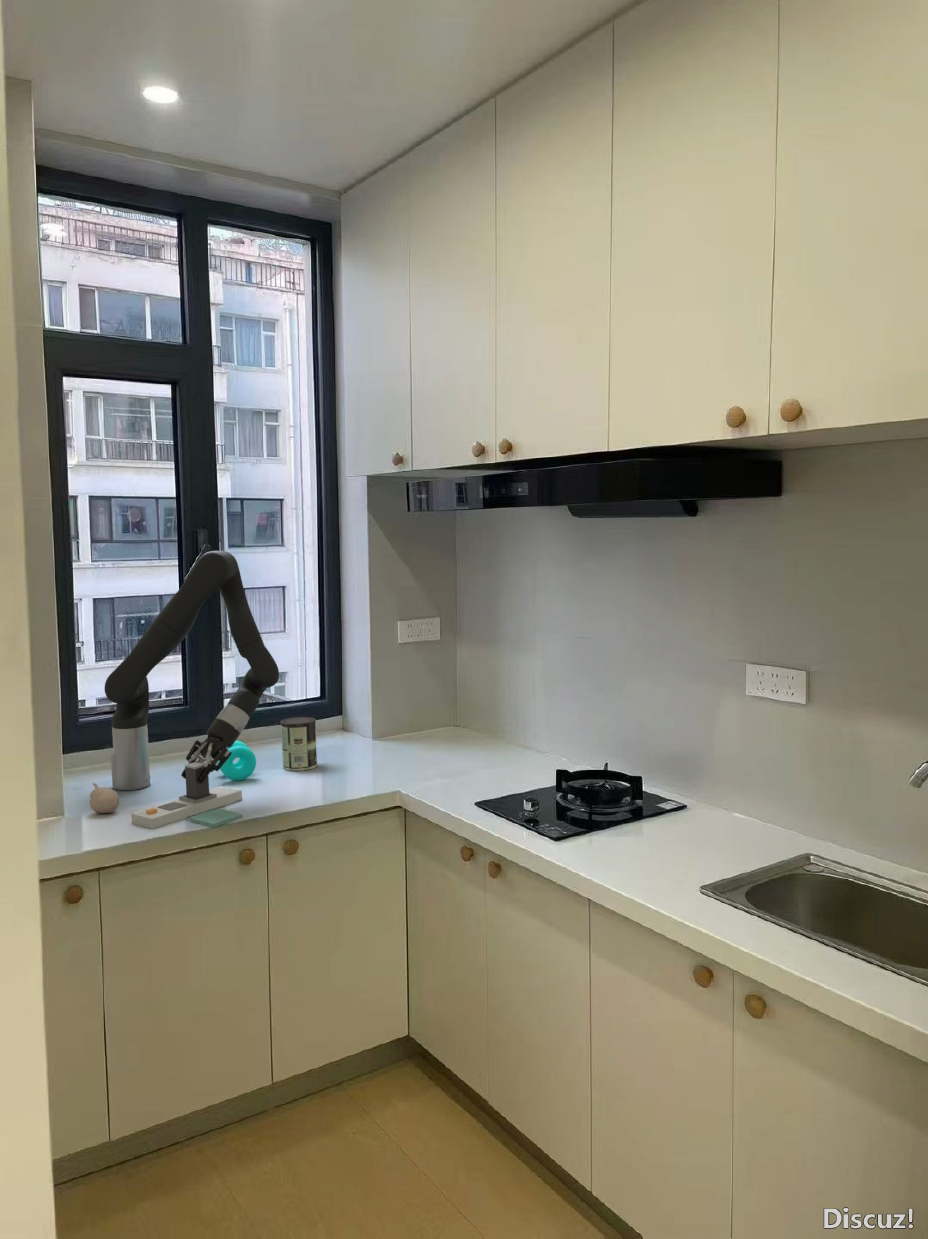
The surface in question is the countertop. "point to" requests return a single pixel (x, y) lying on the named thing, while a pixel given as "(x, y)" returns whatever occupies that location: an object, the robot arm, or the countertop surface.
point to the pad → (216, 817)
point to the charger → (192, 786)
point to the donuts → (239, 762)
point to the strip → (185, 807)
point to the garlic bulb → (104, 800)
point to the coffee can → (299, 743)
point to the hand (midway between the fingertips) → (191, 779)
